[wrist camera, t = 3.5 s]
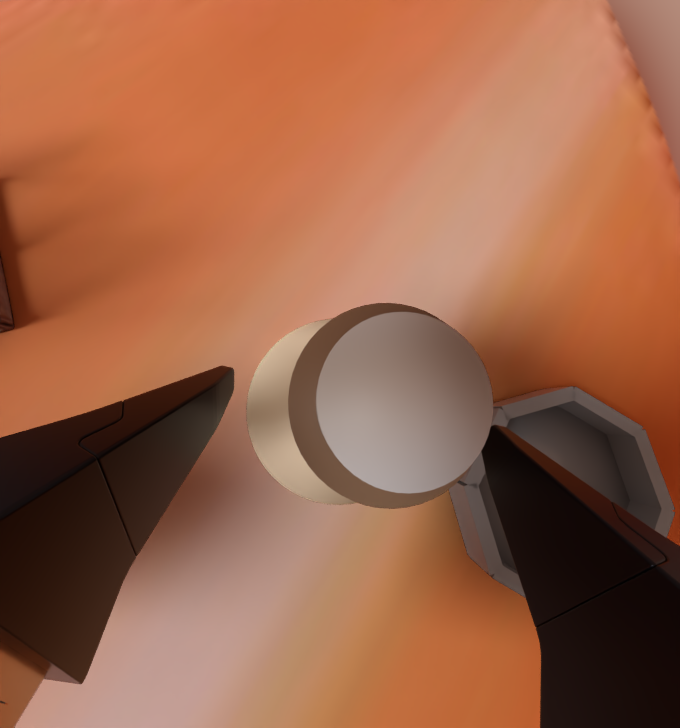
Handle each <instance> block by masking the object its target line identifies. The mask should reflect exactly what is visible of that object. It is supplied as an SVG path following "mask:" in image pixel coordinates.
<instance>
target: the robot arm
mask: <svg viewBox="0 0 680 728" xmlns="http://www.w3.org/2000/svg"><path fill="white" fill-rule="evenodd" d="M233 390H234V369H233V368H231V367H226V366H219V367H216V368H213V369H211V370H208V371H205V372H202V373H199V374H197V375H194V376H191V377H188V378H185V379H183V380H180V381H177V382H174V383H171V384H168V385H166V386H163V387H160V388H157V389H154V390H152V391H149V392H146V393H143V394H140V395H137V396H135V397H132V398H129V399H126V400H124V401H119V402H117V403H114V404H111V405H108V406H105V407H102V408H99V409H96V410H93V411H90V412H87V413H84V414H81V415H77V416H74V417H71V418H67V419H64V420H60V421H57V422H54V423H50V424H47V425H43V426H40V427H36V428H33V429H29V430H26V431H22V432H19V433H15V434H12V435H8V436H5V437H1V438H0V728H15V726H16V724H17V723H18V721H19V719H20V718H21V716H22V714H23V713H24V711H25V709H26V708H27V706H28V704H29V703H30V701H31V699H32V698H33V696H34V694H35V693H36V691H37V689H38V688H39V686H40V684H41V683H42V681H43V679H48V680H55V681H61V682H68V683H75V684H82V683H83V681H84V679H85V678H86V675H87V673H88V671H89V668H90V666H91V663H92V661H93V658H94V655H95V653H96V650H97V648H98V645H99V642H100V640H101V637H102V635H103V632H104V630H105V627H106V624H107V622H108V619H109V617H110V614H111V611H112V609H113V606H114V604H115V601H116V599H117V596H118V593H119V591H120V588H121V586H122V583H123V581H124V579H125V577H126V575H127V573H128V571H129V569H130V567H131V565H132V563H133V562H134V560H135V558H136V556H137V555H138V554H139V552H140V550H141V549H142V547H143V546H144V544H145V542H146V541H147V539H148V538H149V536H150V534H151V533H152V531H153V530H154V528H155V526H156V525H157V523H158V522H159V520H160V518H161V517H162V515H163V514H164V512H165V510H166V509H167V507H168V506H169V504H170V502H171V501H172V499H173V498H174V496H175V494H176V493H177V491H178V490H179V488H180V486H181V485H182V483H183V482H184V480H185V478H186V477H187V475H188V474H189V472H190V470H191V469H192V467H193V466H194V464H195V462H196V461H197V459H198V458H199V456H200V454H201V453H202V451H203V450H204V448H205V446H206V445H207V443H208V442H209V440H210V438H211V437H212V435H213V434H214V432H215V430H216V428H217V427H218V425H219V422H220V420H221V418H222V416H223V414H224V411H225V409H226V407H227V405H228V402H229V400H230V398H231V396H232V393H233ZM481 453H482V458H483V462H484V467H485V472H486V477H487V481H488V485H489V488H490V491H491V494H492V497H493V500H494V503H495V506H496V509H497V512H498V515H499V518H500V521H501V524H502V527H503V530H504V534H505V537H506V540H507V543H508V546H509V549H510V552H511V555H512V558H513V561H514V564H515V567H516V570H517V573H518V576H519V579H520V582H521V585H522V588H523V591H524V594H525V597H526V600H527V603H528V606H529V609H530V612H531V615H532V618H533V621H534V624H535V627H537V628H536V631H537V634H538V638H539V642H540V649H541V700H540V728H680V546H678V545H677V544H675V543H674V542H672V541H671V540H669V539H668V538H666V537H664V536H663V535H661V534H660V533H658V532H657V531H655V530H654V529H652V528H651V527H649V526H648V525H646V524H645V523H643V522H642V521H640V520H639V519H638V518H636V517H635V516H633V515H632V514H630V513H629V512H627V511H626V510H624V509H623V508H622V507H620V506H619V505H617V504H616V503H614V502H611V501H610V500H609V499H608V498H607V497H605V496H604V495H602V494H601V493H599V492H598V491H596V490H595V489H594V488H592V487H591V486H589V485H588V484H586V483H585V482H584V481H582V480H581V479H579V478H578V477H576V476H575V475H574V474H572V473H571V472H569V471H568V470H566V469H565V468H564V467H562V466H561V465H559V464H558V463H556V462H555V461H554V460H552V459H551V458H549V457H548V456H546V455H545V454H544V453H542V452H541V451H539V450H538V449H536V448H535V447H533V446H532V445H531V444H529V443H528V442H526V441H525V440H523V439H522V438H521V437H519V436H518V435H516V434H515V433H513V432H512V431H511V430H509V429H508V428H506V427H504V426H500V425H492V426H491V427H490V431H489V435H488V437H487V440H486V442H485V445H484V447H483V448H482V450H481Z"/></svg>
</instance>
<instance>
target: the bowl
mask: <svg viewBox="0 0 680 728" xmlns="http://www.w3.org/2000/svg"><path fill="white" fill-rule="evenodd" d="M492 425H500V426H504V427H506V428H508V429H509V430H511V431H512V432H513V433H515V434H516V435H518V436H519V437H521V438H522V439H523V440H525V441H526V442H528V443H529V444H531V445H532V446H533V447H535V448H536V449H538V450H539V451H541V452H542V453H544V454H545V455H546V456H548V457H549V458H551V459H552V460H554V461H555V462H556V463H558V464H559V465H561V466H562V467H564V468H565V469H566V470H568V471H569V472H571V473H572V474H574V475H575V476H576V477H578V478H579V479H581V480H582V481H584V482H585V483H586V484H588V485H589V486H591V487H592V488H594V489H595V490H596V491H598V492H599V493H601V494H602V495H604V496H605V497H607V498H608V499H609V500H610V501H611V502H614V503H616V504H617V505H619V506H620V507H622V508H623V509H624V510H626V511H627V512H629V513H630V514H632V515H633V516H635V517H636V518H638V519H639V520H640V521H642V522H643V523H645V524H646V525H648V526H649V527H651V528H652V529H654V530H655V531H657V532H658V533H660V534H661V535H663V536H664V537H666V538H667V535H668V532H669V529H670V526H671V523H672V520H673V517H674V515H675V512H673V511H672V510H674V509H675V508H674V505H673V503H672V500H671V497H670V495H669V492H668V489H667V487H666V484H665V481H664V479H663V476H662V473H661V470H660V468H659V465H658V462H657V460H656V457H655V454H654V452H653V449H652V446H651V444H650V441H649V438H648V436H647V433H646V430H645V429H642V428H643V426H641V425H639V424H638V423H636V422H634V421H633V420H631V419H629V418H627V417H626V416H624V415H622V414H621V413H619V412H617V411H616V410H614V409H612V408H611V407H609V406H607V405H606V404H604V403H602V402H601V401H599V400H597V399H596V398H594V397H592V396H591V395H589V394H587V393H586V392H584V391H582V390H581V389H579V388H577V387H573V386H568V387H558V388H548V389H541V390H537V391H534V392H530V393H527V394H523V395H520V396H516V397H513V398H509V399H505V400H502V401H498V402H495V403H493V416H492V423H491V426H492ZM449 492H450V496H451V499H452V503H453V506H454V510H455V513H456V516H457V520H458V523H459V527H460V530H461V534H462V537H463V540H464V544H465V547H466V551H467V554H468V555H469V556H470V558H471V559H472V560H473V561H474V562H475V563H476V564H478V565H479V566H480V567H481V568H482V569H483V570H484V571H485V572H486V573H487V574H489V575H490V576H491V577H492V578H493V579H495V580H496V581H498V582H500V583H502V584H503V585H505V586H507V587H508V588H510V589H512V590H513V591H515V592H517V593H518V594H520V595H522V596H524V597H525V594H524V591H523V588H522V585H521V582H520V579H519V576H518V573H517V570H516V567H515V564H514V561H513V558H512V555H511V552H510V549H509V546H508V543H507V540H506V537H505V534H504V530H503V527H502V524H501V521H500V518H499V515H498V512H497V509H496V506H495V503H494V500H493V497H492V494H491V491H490V488H489V485H488V481H487V477H486V472H485V467H484V462H483V458H482V453H481V452H480V454H479V455H478V457H477V458H476V459H475V461H474V462H473V464H472V465H471V467H470V468H469V469H468V471H467V472H466V473H465V475H464V476H463V477H462V478H461V479H460V480H459V481H458V482H457V483H456V484H455V485H454V486H452V487H451V488H450V489H449ZM525 598H526V597H525Z"/></svg>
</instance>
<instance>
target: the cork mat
mask: <svg viewBox="0 0 680 728" xmlns="http://www.w3.org/2000/svg"><path fill="white" fill-rule="evenodd" d="M330 320H332V319H327V320H321V321H316V322H313V323H309V324H306V325H304V326H302V327H299V328H297V329H295V330H294V331H292V332H290V333H289V334H287V335H286V336H284V337H283V338H282V339H281V340H279V341H278V342H277V343H276V344H275V345H274V346H273V347H272V348H271V349H270V350H269V351H268V352H267V354H266V355H265V356H264V358H263V359H262V361H261V362H260V364H259V366H258V368H257V369H256V371H255V374H254V376H253V379H252V381H251V384H250V388H249V392H248V398H247V407H246V410H247V425H248V432H249V435H250V439H251V442H252V445H253V447H254V450H255V452H256V454H257V456H258V458H259V459H260V461H261V463H262V464H263V466H264V467H265V468H266V470H267V471H268V472H269V473H270V475H271V476H272V477H273V478H274V479H275V480H277V481H278V482H279V483H280V484H281V485H282V486H284V487H285V488H287V489H288V490H289V491H291V492H293V493H295V494H297V495H298V496H300V497H302V498H305V499H308V500H311V501H314V502H318V503H324V504H333V505H344V504H353V503H357V502H354V501H352V500H350V499H348V498H346V497H344V496H342V495H340V494H338V493H337V492H335V491H334V490H332V489H331V488H330V487H328V486H327V485H326V484H325V483H324V482H323V481H322V480H320V479H319V478H318V477H317V476H316V474H315V473H314V472H313V471H312V470H311V468H310V467H309V466H308V464H307V463H306V461H305V460H304V458H303V457H302V455H301V453H300V451H299V449H298V447H297V444H296V442H295V439H294V436H293V433H292V430H291V425H290V419H289V412H288V395H289V386H290V381H291V377H292V373H293V370H294V368H295V365H296V362H297V360H298V358H299V356H300V354H301V352H302V351H303V349H304V347H305V346H306V345H307V343H308V342H309V340H310V339H311V338H312V337H313V336H314V335H315V333H316V332H317V331H318V330H319V329H320V328H322V327H323V326H324V325H325V324H326V323H328V322H329V321H330Z"/></svg>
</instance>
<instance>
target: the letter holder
mask: <svg viewBox="0 0 680 728" xmlns="http://www.w3.org/2000/svg"><path fill="white" fill-rule="evenodd" d="M13 328H14V324H13V316H12V311H11V306H10V301H9V296H8V291H7V286H6V280H5V276H4V271H3V266H2V262H1V257H0V332H3V331H7V330H11V329H13Z"/></svg>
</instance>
